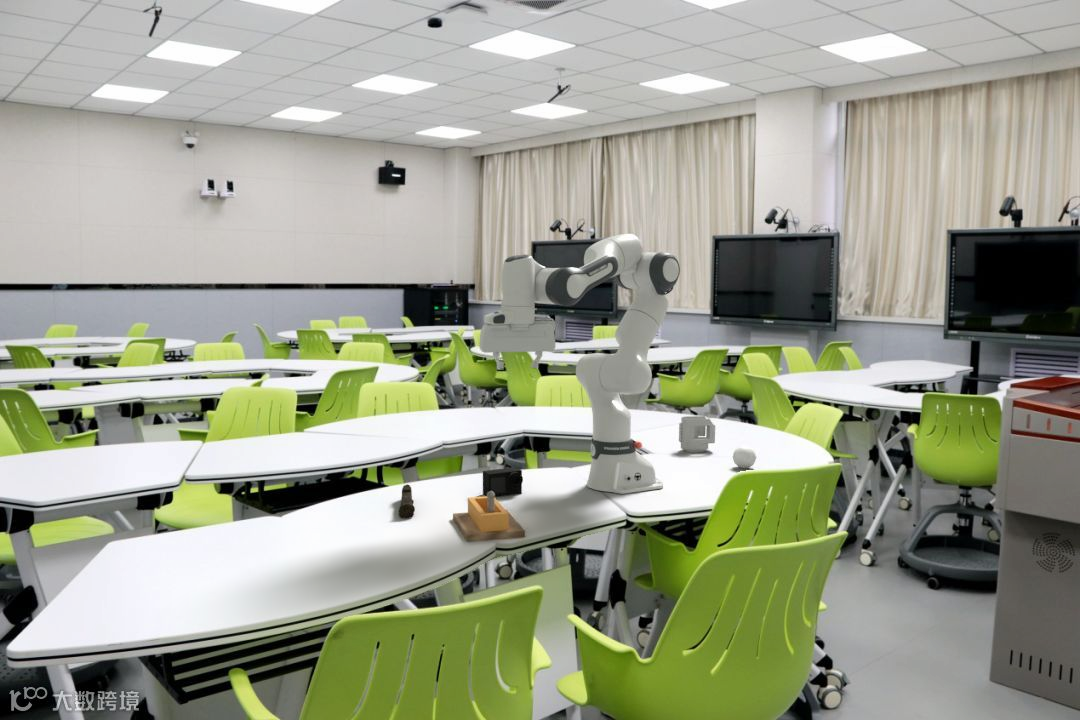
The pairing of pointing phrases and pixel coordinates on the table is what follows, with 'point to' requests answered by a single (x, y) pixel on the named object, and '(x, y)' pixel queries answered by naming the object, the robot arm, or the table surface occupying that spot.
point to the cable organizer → (696, 433)
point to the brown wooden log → (406, 503)
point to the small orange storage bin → (488, 515)
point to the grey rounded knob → (744, 457)
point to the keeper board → (475, 534)
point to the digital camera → (503, 481)
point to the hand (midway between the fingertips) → (517, 368)
